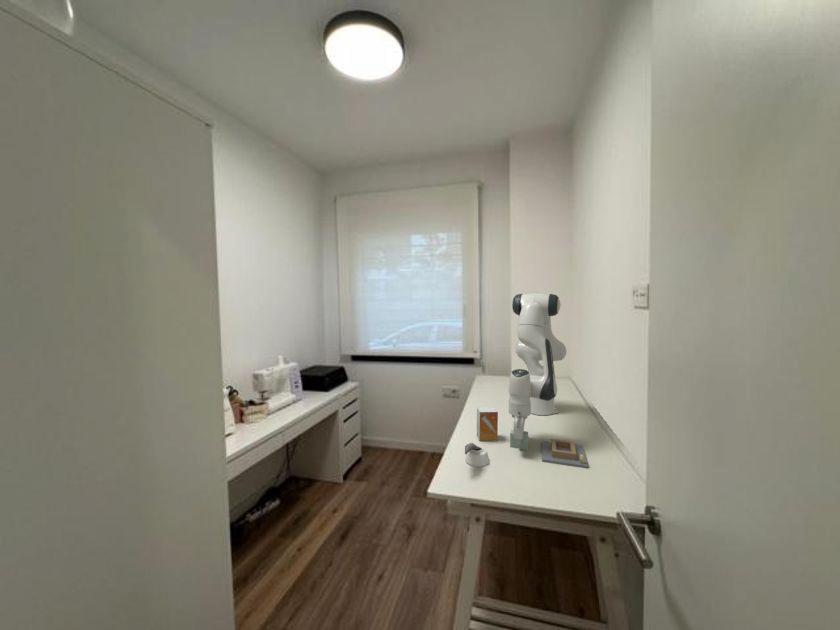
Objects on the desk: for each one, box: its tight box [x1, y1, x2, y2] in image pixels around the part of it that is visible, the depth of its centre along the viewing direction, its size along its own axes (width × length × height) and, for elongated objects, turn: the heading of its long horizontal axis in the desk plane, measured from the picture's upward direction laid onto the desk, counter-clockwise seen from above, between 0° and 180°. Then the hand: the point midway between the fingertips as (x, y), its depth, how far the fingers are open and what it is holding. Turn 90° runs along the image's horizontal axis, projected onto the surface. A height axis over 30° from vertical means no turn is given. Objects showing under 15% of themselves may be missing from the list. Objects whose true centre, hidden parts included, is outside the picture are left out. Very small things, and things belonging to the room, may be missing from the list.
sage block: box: [509, 429, 529, 450], centre depth 144 cm, size 4×7×6 cm, turn 71°
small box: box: [476, 406, 499, 442], centre depth 152 cm, size 8×6×13 cm
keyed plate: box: [541, 438, 589, 469], centre depth 137 cm, size 18×16×4 cm
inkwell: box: [464, 442, 490, 468], centre depth 128 cm, size 9×18×10 cm, turn 155°
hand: (519, 441), depth 144 cm, fingers open, 5 cm apart
